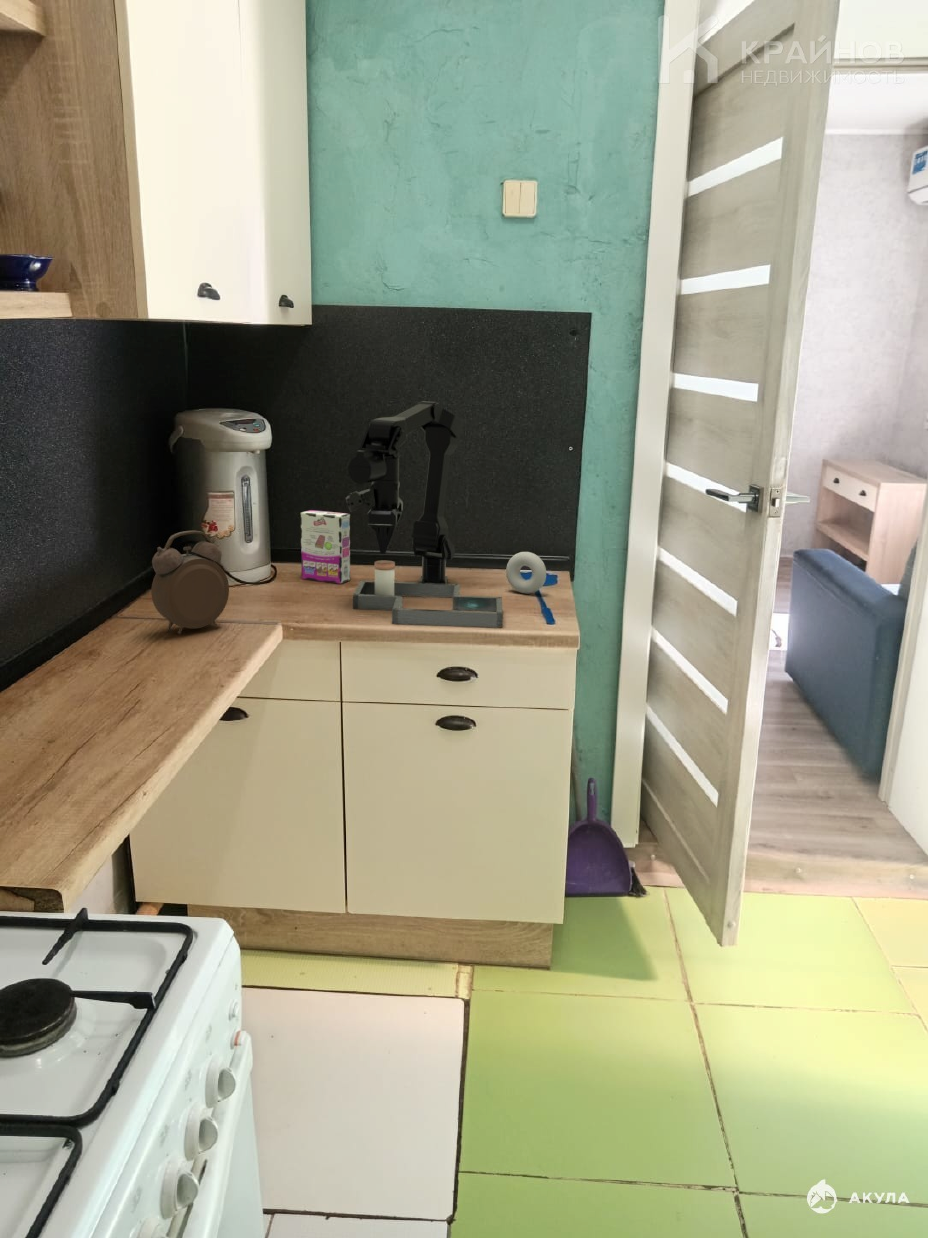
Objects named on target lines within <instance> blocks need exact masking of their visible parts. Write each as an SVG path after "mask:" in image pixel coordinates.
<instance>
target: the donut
mask: <svg viewBox="0 0 928 1238" xmlns="http://www.w3.org/2000/svg"><path fill="white" fill-rule="evenodd" d="M522 567H528V568H529V569H530V570H531V571H530V572H531V577H530V578H528V579H526V578H524V577H523V576H522V575H521V569H522ZM505 574H506V575H505V576H506V579H507V582H508V583H509V585H510V586H511V587H512V589H513V590H514V591H517V593H521V594H533V593H536V592H538V591H539V590H540V589H541V588H542V587H543V586H544V584H545V582H546V580H547V568H546V565H545V562H544V561H543V560H542V558H541V557H540V556H538V555H537V554H535V553H534V552H530V551H520V552H518V553H515V554H514V555H513V556H512V557H511V558H509V559H508V562H507V564H506V569H505Z"/></svg>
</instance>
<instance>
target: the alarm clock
mask: <svg viewBox="0 0 928 1238" xmlns="http://www.w3.org/2000/svg"><path fill="white" fill-rule="evenodd" d="M195 534H197V535H201V536H202V537H203V538H204V541H199V542H197V543H196V544H195V545H194V547H192V546H190V545H188V546H184V547H183V548H182V550H183V551H186V553H184V554H183V553H182V554H181V553H180V551H178V549H176V548H173V547H171V545H172V544H173V541H174V540H175V539H177V538H179V537H181V536H187V535H195ZM215 539H216V538H214V537H211V538H210V537H208V535H207V534H206V533H205V532H203V531H200V530H199V531H198V530H186V531H180V532H177V533H174V534H171V535H170V537H169V538H168V539H167V542H166V543H165V545H164V548H162V547H161V546H158V547H157V548H156V549H157V552H156V553H155V554H154V555H153V557H152V560H151V565H152V568H153V570H154V572H155V575H154V577H153V581H152V582H151V583H152V584H151V589H150V590H151V599H152V602H153V603H152V604H153V605H154V608H155V610H156V611H157V612H158V613H159V615H160V616H162V617H163V618H165V620H167V621H169V623H168V626H167V628H166V632H167V631H169V632H170V631H171V628H172V626H174V625H176V626H178V627H179V630H178V631H177V634H178V635H180V634H182V631H183V629H184V628H185V629H186V628H187V629H192V630H193V629H201V628H205V627H206V626H208V625H210V624H213V627H218V623H216V620H217V619H218V618H219V617H221V614H223V612H224V610H225V608H226V607H227V604H228V599H229V596H230V583H229V580H228V577H227V575H226V572H225V571H224V569H223V568H222V567H221V566H220V563H221V560H222V557H223V555H222V551H221V549H220V547H219V545H217V544H215V541H216V540H215ZM189 551H191V554H190V553H189ZM192 553H193V554H192Z"/></svg>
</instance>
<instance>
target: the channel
mask: <svg viewBox="0 0 928 1238" xmlns="http://www.w3.org/2000/svg"><path fill="white" fill-rule="evenodd" d="M460 590H461V583H447V584H444V583H420V582H415V581H414V582H411V581H394V596H391V595H375V580H360V581H359V582H358V585H357V586H356V589H355V591H354V592H353V595H352V609H353V610H372V611H373V610H379V611H391V624H392V625H393V624H395V625H415V626H416V625H418V626H419V625H420V626H444V627H445V626H446V627H448V626H449V627H470V628H471V627H473V628H495V629H496V628H499V629H502V628H503V615H504V613H503V597H502V596H487V595H486V596H485V595H484V596H483V595H460V592H461V591H460ZM404 597H421V598H422V597H424V598H445V597H453V598H452V610H449V609H423V608H403V598H404ZM472 610H475V611H472Z"/></svg>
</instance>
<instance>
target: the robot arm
mask: <svg viewBox="0 0 928 1238" xmlns="http://www.w3.org/2000/svg"><path fill="white" fill-rule="evenodd" d="M418 429H421V430H422V432H424V442H425V445H426V447H427V450H428V452H429V457H428V458H429V460H428V467H427V476H426V477H427V478H426V485H425V494H424V504H423V512H422V515H421V516H420V517H419V519H418V520H414V522H413V528H412V529H413V530H412V534H411V544H412V549H413V553H414V554H413V555H414V557H421V558H422V560H421V561H422V562H421V565H422V566H421V575H420V578H419V583H444V584H448V583H447V582H448V576H446V574H447V573H446V570H447V569H446V568H447V567H446V565H447V560H453V558H454V557H455V554H456V553H455V551H456V547H455V546H454V544H453V542H452V541H451V539H450V536H449V534H450V533H449V531H450V530H449V529H450V528H449V526H448V523H447V521H446V518H445V517H444V514H445V507H446V498H447V489H448V482H449V471H450V465H451V464H450V462H451V456H452V455H453V453H454V452H455V450H457V448H458V447H459V444H460V439H461V436H462V433H463V426H462V423H461V422H460V421H459V419H458V418H457V417H456V416H455V414H454V413H452V412H450V411H448V410H446V409H445V408H444V407H443V406H442V405H441V404H440V403H438V402H437V401H427V400H426V401H425V400H422V401H421V400H420V402H417V403H416V405H414V406H412V407H410V408H408V409H406V410H405V411H403V412H400V413H398V414H396V415H395V416H389V417H387V416H386V417H378V418H374V419H372V420H371V421H370V422H369V425H368V426H367V429H366V430H365V433H364V436H363V439H362V441H361V444H360V446H359V449H358V450H356V452H355V453H356V454H355V455H356V456H355V457H353V458H352V459H351V460H350V462H349V463H348V466H347V472H348V473H347V474H348V475H349V477H350V479H351V481H353V483H355V484H357V485H364V484H369V483H371V484H370V485H369V488H368V489H364V490H361V491H357V490H355V491H353V492H350V493H349V495H347V496H346V497H345V500H346V501H345V502H346V506H347V508H348V509H349V511H350V513H352V512H356V511H357V510H359V509H364V508H366V507H368V506H369V509H370V510H368V512H367V513H366V524H367V526H368V527H369V528H371V529H372V530H373V531H374V532H375V535H376V540H377V541H376V542H377V544H378V549H379V553H380V554H381V555H385V554H386V553H387V551H388V548H389V546H390V544H391V541H392V540H393V536H394V534H395V531H396V529H397V526H398V523H399V522H400V519H401V516H402V512H403V510H404V509H403V507H404V502H403V500H402V499H401V497H400V495H399V493H400V490H399V488H401V487H400V483H401V482H400V480H399V479H400V457H404V454H405V453H404V452H403V451H402V449H400V447H401V446H402V445H403V444H404V443H405V442H406V441H408V435H410V434H411V433H413V432H414V431H417V430H418ZM396 510H398V511H396Z"/></svg>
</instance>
